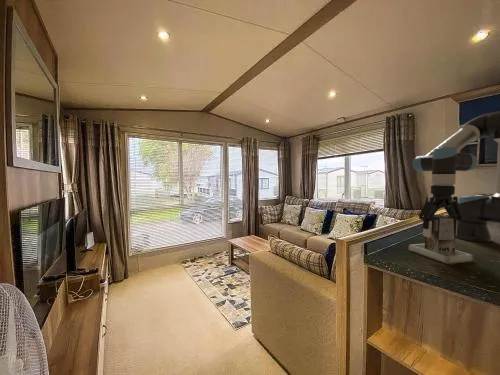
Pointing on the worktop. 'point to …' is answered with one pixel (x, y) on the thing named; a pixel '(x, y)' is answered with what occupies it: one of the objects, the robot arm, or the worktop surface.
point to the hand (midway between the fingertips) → (439, 235)
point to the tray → (457, 258)
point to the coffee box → (442, 235)
